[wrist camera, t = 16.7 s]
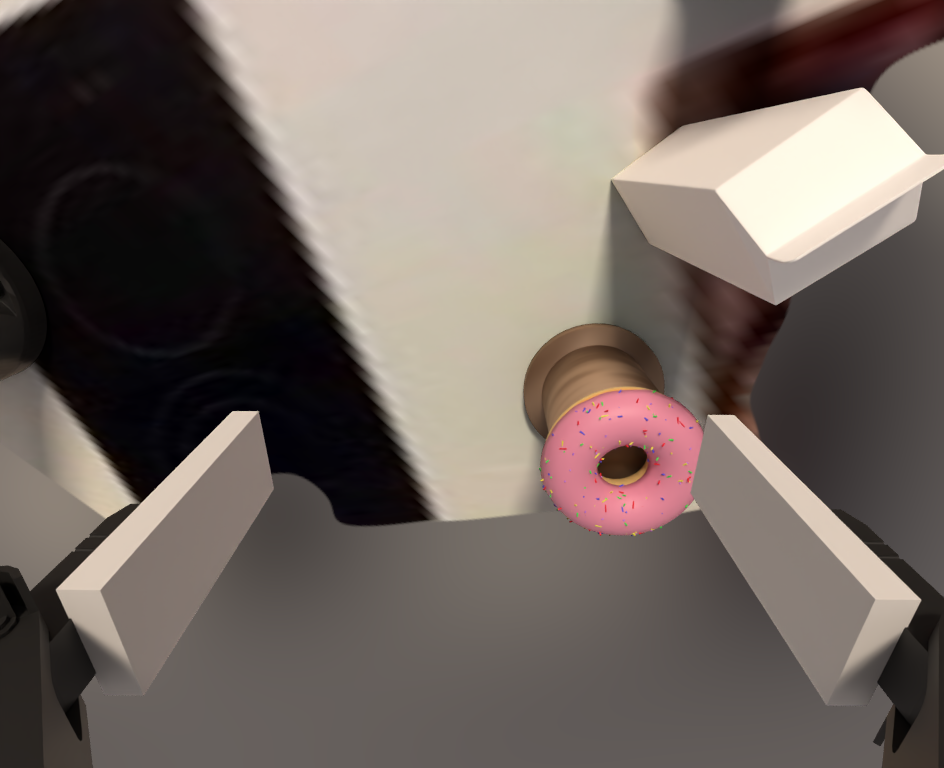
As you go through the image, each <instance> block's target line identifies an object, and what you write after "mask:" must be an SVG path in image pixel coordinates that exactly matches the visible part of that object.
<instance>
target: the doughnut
mask: <svg viewBox="0 0 944 768" xmlns="http://www.w3.org/2000/svg"><path fill="white" fill-rule="evenodd" d="M703 434H704V433H703V430H702V428H701V426H700V424H699V422H698V420H697V419H696V418H695V417H694V416H693V414H692V413H691V412H690V411H689V410H688V409H687V408H686V407H684V406H683V405H682V404H681V403H679V402H678V401H676V400H674V399H673V397H671V398H670V397H667V396H665V395H663V394H661V393H659V392H656V390H655V391H653V390H650V389H646V388H640V387H614V388H609V389H604V390H601V391H598V392H595V393H592V394H590V395H588V396H586V397H584V398H582V399H580V400H578V401H577V402H575V403H574V404H573V405H571V406H570V407H569V408H568V409H566V410H565V411H564V412H563V413H562V414H561V415H560V417H559V418H558V419H557V420H556V422H555V423H554V425H553V426H552V428H551V430H550V431H549V434H548V436H547V438H546V441H545V444H544V447H543V451H542V455H541V462H540V468H539V469H540V471H541V477H542V480H540V481H543V488H544V489H543V490H546V492H547V493H548V495H549V497H550V498H551V499H552V501H553V502H554V506H556V507H557V508H558V509H557V511H558V510H559V511H561V512H562V513H563V514H564V515H565V516H566V517H568V518H567V519H570V520H572V521H570V522H575V523H576V524H578V525H579V526H582V527H584V529H588V530H589V531H590V530H592V531H594V532H598V534H600V536H601V534H609V535H631V536H632V535H634V536H636V535H635V534H642V533H644V532H647V531H651V532H652V530H654V529H656V528H658V527H660V528H662V526H663V525H665V524H666V523H668V522H670V521H671V520H673V519H674V518H676V517H677V516H678V515H680V514H681V513H682V512H683V511H684V510H685V509H686V508H687V507H688V506H689V505H690V504H691V503H692V501H693V500H694V498H693V496H692V495H691V493H690V492H691V488H692V483H693V479H694V474H695V470H696V466H697V461H698V457H699V452H700V448H701V443H702V439H703ZM621 446H626V447H629V446H630V447H632V446H637V447H638V448H640V447H641V448H642V449H643V450H644V451H645V452H646V454H647V459H646V462H645V464H644V465H643V467H642V468H641V469H640V470H639V471H637V472H636V473H635V474H633V475H631V476H628V477H625V478H621V479H610V478H606V477H603V476H601V473H600V474H599V472H598V465H599V464H600V463H599V462H601V463H602V461H601V460H604V458H602V457H603V456H604V455H605V454H606V453H608V452H609V451H611V450H613V449H616V448H618V447H621Z"/></svg>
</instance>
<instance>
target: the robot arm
mask: <svg viewBox="0 0 944 768" xmlns="http://www.w3.org/2000/svg"><path fill="white" fill-rule="evenodd" d="M46 334H47V318H46V312H45V307H44V303H43V300H42V297H41V295H40V292H39V290H38V288H37V286H36V284H35V282H34V280H33V278H32V276H31V275H30V273H29V272H28V270H27V269H26V267H25V266H24V264H23V263H22V262H21V261H20V259H19V258H18V257H17V256H16V255H15V253H14V252H13V251H12V250H11V249H10V248H9V247H8V246H7V245H6V244H5V243H4V242H3V241H2V240H0V380H3V379H5V378H7V377H10V376H12V375H14V374H17V373H19V372H21V371H23V370H24V369H26V368H28V367H29V366H30V365H31V364H32V363H33V362H34V361H35V360H36V359H37V358H38V356H39V355H40V353H41V351H42V349H43V346H44V344H45V340H46ZM273 489H274V488H273V482H272V477H271V472H270V467H269V462H268V457H267V452H266V447H265V441H264V436H263V431H262V426H261V421H260V416H259V411H232V412H231V413H230V414H229V415H228V416H227V417H226V418H225V419H224V420H223V421H222V423H221V424H220V425H219V426H218V427H217V428H216V429H215V430H214V431H213V432H212V433H211V434H210V435H209V436H208V437H207V438H206V439H205V440H204V441H203V442H202V443H201V444H200V445H199V446H198V447H197V448H196V449H195V450H194V451H193V452H192V453H191V454H190V455H189V456H188V457H187V458H186V459H185V460H184V461H183V462H182V463H181V464H180V465H179V466H178V467H177V468H176V469H175V470H174V471H173V472H172V473H171V474H170V475H169V476H168V477H167V478H166V479H165V480H164V481H163V482H162V483H161V484H160V485H159V486H158V487H157V488H156V489H155V490H154V491H153V492H152V493H151V494H150V495H149V496H148V497H147V498H146V499H145V500H144V501H143V502H142V503H141V504H129V505H128V506H126V507H124V508H123V509H121V510H119V511H118V512H116V513H114V514H113V515H111V516H110V517H108V518H107V519H105V520H104V521H103V522H102V523H101V524H100V525H99V526H98V527H97V528H96V529H95V530H94V531H93V532H92V533H91V534H90V537H89V538H86V539H85V540H83V541H82V542H81V543H80V544H79V545H78V546H77V547H76V550H75V552H71V553H70V554H69V555H68V556H67V557H66V558H65V559H64V560H63V561H62V562H60V563H59V564H58V565H57V566H56V567H55V568H54V569H53V570H52V571H51V572H50V573H49V574H48V575H47V576H46V577H45V578H44V579H43V580H42V581H41V582H40V583H38V584H37V585H36V586H35V587H34V588H33V589H32V590H31V591H29V589H28V587H27V585H26V583H25V581H24V579H23V577H22V575H21V573H20V571H19V569H17V568H14V567H11V566H0V768H93V766H92V757H91V748H90V739H89V730H88V720H87V712H86V705H85V703H84V701H83V699H82V697H81V695H80V694H81V693H82V691H83V690H84V689H85V687H86V686H87V685H88V683H89V682H90V681H91V680H92V678H93V677H94V676H96V678H97V680H98V682H99V685H100V687H101V689H102V691H103V693H104V695H122V696H124V695H125V696H126V695H127V696H144V695H145V693H146V691H147V690H148V688H149V686H150V685H151V683H152V682H153V680H154V679H155V677H156V675H157V674H158V672H159V671H160V669H161V667H162V666H163V664H164V663H165V661H166V660H167V658H168V656H169V655H170V653H171V651H172V650H173V648H174V647H175V645H176V644H177V642H178V640H179V639H180V637H181V636H182V634H183V632H184V631H185V629H186V628H187V626H188V625H189V623H190V621H191V620H192V618H193V616H194V615H195V613H196V612H197V610H198V609H199V607H200V605H201V604H202V602H203V601H204V599H205V598H206V596H207V594H208V593H209V591H210V590H211V588H212V586H213V585H214V583H215V582H216V580H217V578H218V577H219V575H220V574H221V572H222V571H223V569H224V567H225V566H226V564H227V563H228V561H229V559H230V558H231V556H232V554H233V553H234V551H235V550H236V548H237V547H238V545H239V543H240V542H241V540H242V539H243V537H244V536H245V534H246V532H247V531H248V529H249V528H250V526H251V524H252V523H253V521H254V520H255V518H256V516H257V515H258V513H259V512H260V510H261V509H262V507H263V505H264V504H265V502H266V501H267V499H268V497H269V496H270V494H271V493H272V491H273ZM690 493H691V495H692V496H693V498H694V499H695V501H696V503H697V504H698V506H699V507H700V509H701V510H702V512H703V513H704V515H705V517H706V518H707V520H708V521H709V523H710V524H711V526H712V528H713V529H714V531H715V532H716V533H717V535H718V537H719V538H720V540H721V541H722V543H723V545H724V546H725V548H726V549H727V551H728V552H729V554H730V556H731V557H732V559H733V560H734V562H735V563H736V565H737V566H738V568H739V570H740V571H741V573H742V574H743V576H744V577H745V579H746V580H747V582H748V584H749V585H750V587H751V588H752V590H753V591H754V593H755V594H756V596H757V598H758V599H759V601H760V602H761V604H762V605H763V607H764V608H765V610H766V612H767V613H768V615H769V616H770V618H771V619H772V621H773V623H774V624H775V626H776V627H777V629H778V630H779V632H780V633H781V635H782V637H783V638H784V640H785V641H786V643H787V644H788V646H789V648H790V649H791V650H792V652H793V654H794V655H795V657H796V658H797V660H798V661H799V663H800V665H801V666H802V668H803V669H804V671H805V672H806V674H807V676H808V677H809V678H810V680H811V682H812V683H813V685H814V686H815V688H816V690H817V691H818V693H819V694H820V696H821V697H822V699H823V700H824V702H825V704H826V705H830V706H834V705H835V706H867V705H868V703H869V701H870V700H871V697H872V696H873V693H874V692H875V690H876V688H877V686H878V684H879V685H880V687H881V688H882V689H883V691H884V692H885V693H886V694H887V696H888V697H889V698H890V700H891V701H892V702H893V706H892V708H891V710H890V711H889V713H888V715H887V717H886V719H885V721H884V722H883V724H882V726H881V728H880V730H879V732H878V733H877V735H876V737H875V739H874V741H873V742H874V743H875V744H877V745H879V746H881V744H882V743H883V741H884V739H885V743H884V753H883V763H882V768H944V597H943V596H941V595H940V594H939V593H938V592H937V591H936V590H935V589H934V588H933V587H932V586H931V585H930V584H929V583H927V582H926V581H925V580H924V579H923V578H922V577H921V576H920V575H919V574H918V573H917V572H916V571H915V570H914V569H912V567H911V566H909V565H908V564H907V563H906V562H905V561H904V560H903V559H899V556H898V554H897V553H896V552H894V551H893V550H892V549H891V548H890V547H889V546H888V545H884V543H883V540H882V539H881V538H879V537H878V536H877V535H876V534H875V533H874V532H873V531H872V530H871V529H870V528H869V527H868V526H867V525H865V524H863V523H862V522H860V521H859V520H857V519H855V518H854V517H852V516H851V515H849V514H847V513H846V512H844V511H842V510H837V509H829V508H828V507H827V506H826V505H825V504H824V503H823V502H822V501H821V500H820V499H819V498H818V497H817V496H815V495H814V493H812V492H811V491H810V490H809V489H808V488H807V487H806V486H805V485H804V484H803V483H802V482H801V481H800V480H799V479H798V478H797V477H796V476H795V475H794V474H793V473H792V472H791V471H790V470H789V469H788V468H787V467H786V466H785V465H784V464H783V463H782V462H781V461H780V460H779V459H778V458H777V457H776V456H775V455H774V454H773V453H772V452H771V451H770V450H769V449H768V448H767V447H766V446H765V445H764V444H763V443H762V442H761V441H760V440H759V439H758V438H757V437H756V436H755V435H754V434H753V433H752V432H751V431H750V430H749V429H748V428H747V427H746V426H745V425H744V424H743V423H742V422H741V421H740V420H739V419H738V418H736V417H735V416H734V415H708V416H707V421H706V425H705V430H704V434H703V439H702V443H701V448H700V452H699V457H698V461H697V466H696V470H695V474H694V479H693V483H692V488H691V492H690Z"/></svg>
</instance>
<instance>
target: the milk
mask: <svg viewBox="0 0 944 768" xmlns="http://www.w3.org/2000/svg"><path fill="white" fill-rule="evenodd" d="M943 169H944V154H942V155H927V154H925V153H924V152H923V151H922V150H921V149H920V148H919V147H918V145H917V144H916V143H914V141H913V140H912V139H911V138H910V137H909V136H908V135H907V133H906V132H905V131H904V130H903V129H902V128H901V127H900V126H899V125H898V124H897V123H896V122H895V120H894V119H893V118H892V117H891V116H890V115H889V114H888V113H887V112H886V111H885V110H884V108H883V107H882V106H881V105H880V104H879V103H878V102H877V101H876V100H875V99H874V98H873V97H872V95H871V94H870V93H869V92H868V91H867V90H866V89H864V88H858V89H853V90H848V91H843V92H839V93H834V94H829V95H825V96H820V97H815V98H810V99H806V100H801V101H796V102H792V103H787V104H782V105H777V106H773V107H768V108H763V109H759V110H754V111H749V112H745V113H740V114H735V115H730V116H726V117H721V118H716V119H712V120H707V121H702V122H698V123H693V124H688V125H683V126H681V127H680V128H679V129H677V130H676V131H675V132H673V133H672V134H671V135H669V136H668V137H666V138H665V139H664V140H662V141H661V142H660V143H658V144H657V145H656V146H654V147H653V148H652V149H650V150H649V151H648V152H646V153H645V154H644V155H642V156H641V157H640V158H638V159H637V160H636V161H634V162H633V163H632V164H630V165H629V166H628V167H626V168H625V169H624V170H622V171H621V172H620V173H618V174H617V175H616V176H614V177H613V178H612V179H611V180H612V182H613V184H614V186H615V187H616V189H617V191H618V192H619V194H620V196H621V197H622V199H623V201H624V202H625V204H626V206H627V207H628V209H629V211H630V212H631V214H632V216H633V217H634V219H635V221H636V222H637V224H638V226H639V227H640V229H641V231H642V232H643V234H644V236H645V237H646V239H647V241H648V242H649V244H651V245H653V246H655V247H657V248H659V249H661V250H663V251H665V252H667V253H669V254H671V255H673V256H675V257H678V258H680V259H682V260H684V261H686V262H688V263H690V264H692V265H694V266H696V267H698V268H700V269H702V270H704V271H706V272H708V273H710V274H712V275H714V276H716V277H719V278H721V279H723V280H725V281H727V282H729V283H731V284H733V285H735V286H737V287H739V288H741V289H743V290H745V291H747V292H749V293H751V294H753V295H755V296H757V297H760V298H762V299H764V300H766V301H768V302H770V303H772V304H774V305H777V304H779V303H781V302H782V301H784V300H786V299H787V298H789V297H791V296H792V295H794V294H795V293H797V292H799V291H801V290H802V289H804V288H805V287H807V286H809V285H810V284H812V283H814V282H815V281H817V280H819V279H820V278H822V277H824V276H825V275H827V274H829V273H830V272H832V271H834V270H835V269H837V268H839V267H840V266H842V265H844V264H845V263H847V262H849V261H850V260H852V259H853V258H855V257H857V256H858V255H860V254H862V253H863V252H865V251H867V250H868V249H870V248H872V247H873V246H875V245H876V244H878V243H880V242H882V241H883V240H885V239H887V238H888V237H890V236H891V235H893V234H895V233H896V232H898V231H900V230H901V229H903V228H905V227H906V226H908V225H910V224H911V223H913V222H914V221H915V220H916V217H917V212H918V207H919V200H920V195H921V189H922V183H923V182H924V181H926V180H927V179H929V178H930V177H932V176H934V175H935V174H937V173H939V172H940V171H942V170H943Z"/></svg>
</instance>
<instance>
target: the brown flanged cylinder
mask: <svg viewBox="0 0 944 768" xmlns="http://www.w3.org/2000/svg"><path fill="white" fill-rule="evenodd" d="M614 387H640V388H646V389H650V390H653V391H655V390H656V392H659V393H661V394H663V395H664V375H663V371H662V368H661V365H660V363H659V361H658V359H657V357H656V356H655V354H654V353H653V351H652V350H651V349H650V348H649V347H648V346H647V344H646V343H645V342H644V341H643V340H642V339H640V338H639V337H638V336H637V335H635V334H634V333H632V332H630V331H628V330H626V329H624V328H621V327H618V326H614V325H609V324H585V325H580V326H576V327H573V328H570V329H568V330H565V331H563V332H561V333H559V334H557V335H556V336H554V337H553V338H552V339H550V340H549V341H548V342H547V343H545V344H544V345H543V346H542V347H541V348H540V350H539V351H538V352H537V353H536V355H535V356H534V358H533V359H532V361H531V363H530V365H529V367H528V369H527V372H526V375H525V380H524V400H525V406H526V410H527V414H528V416H529V419H530V421H531V422H532V424H533V426H534V427H535V429H536V430H537V431H538V432H539V433H540V434H541V435H542V436H543V437H544V438H545V439H546V438H547V436H548V434H549V431H550V430H551V428H552V426H553V425H554V423H555V422H556V420H557V419H558V418H559V417H560V415H561V414H562V413H563V412H564V411H565V410H566V409H568V408H569V407H570V406H571V405H573V404H574V403H575V402H577V401H578V400H580V399H582V398H584V397H586V396H588V395H590V394H592V393H595V392H598V391H601V390H604V389H609V388H614ZM602 458H604V460H601V461H602V463H601V462H599V463H600V464H599V465H598V472H599V474H600V473H601V476H603V477H606V478H610V479H621V478H625V477H628V476H631V475H633V474H635V473H636V472H637V471H639V470H640V469H641V468H642V467H643V465H644V464H645V462H646V459H647V454H646V452H645V451H644V450H643V449H642V448H641V447H640V448H638V447H637V446H632V447H630V446H629V447H626V446H621V447H618V448H616V449H613V450H611V451H609V452H608V453H606V454H605V455H604V456H603V457H602Z"/></svg>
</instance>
